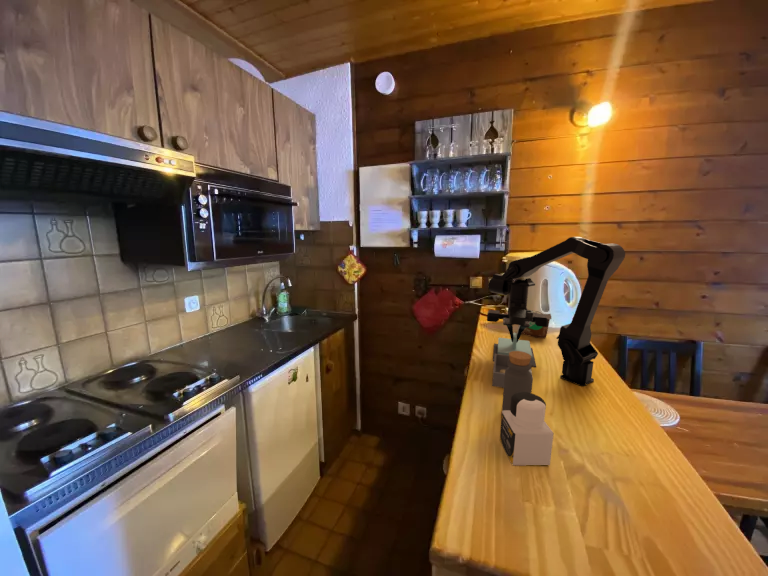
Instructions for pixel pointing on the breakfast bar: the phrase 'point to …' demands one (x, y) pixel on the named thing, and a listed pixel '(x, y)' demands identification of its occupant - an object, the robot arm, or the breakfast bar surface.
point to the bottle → (516, 376)
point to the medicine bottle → (526, 431)
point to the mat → (530, 360)
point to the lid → (513, 345)
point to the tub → (501, 370)
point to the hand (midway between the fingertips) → (514, 341)
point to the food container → (537, 328)
